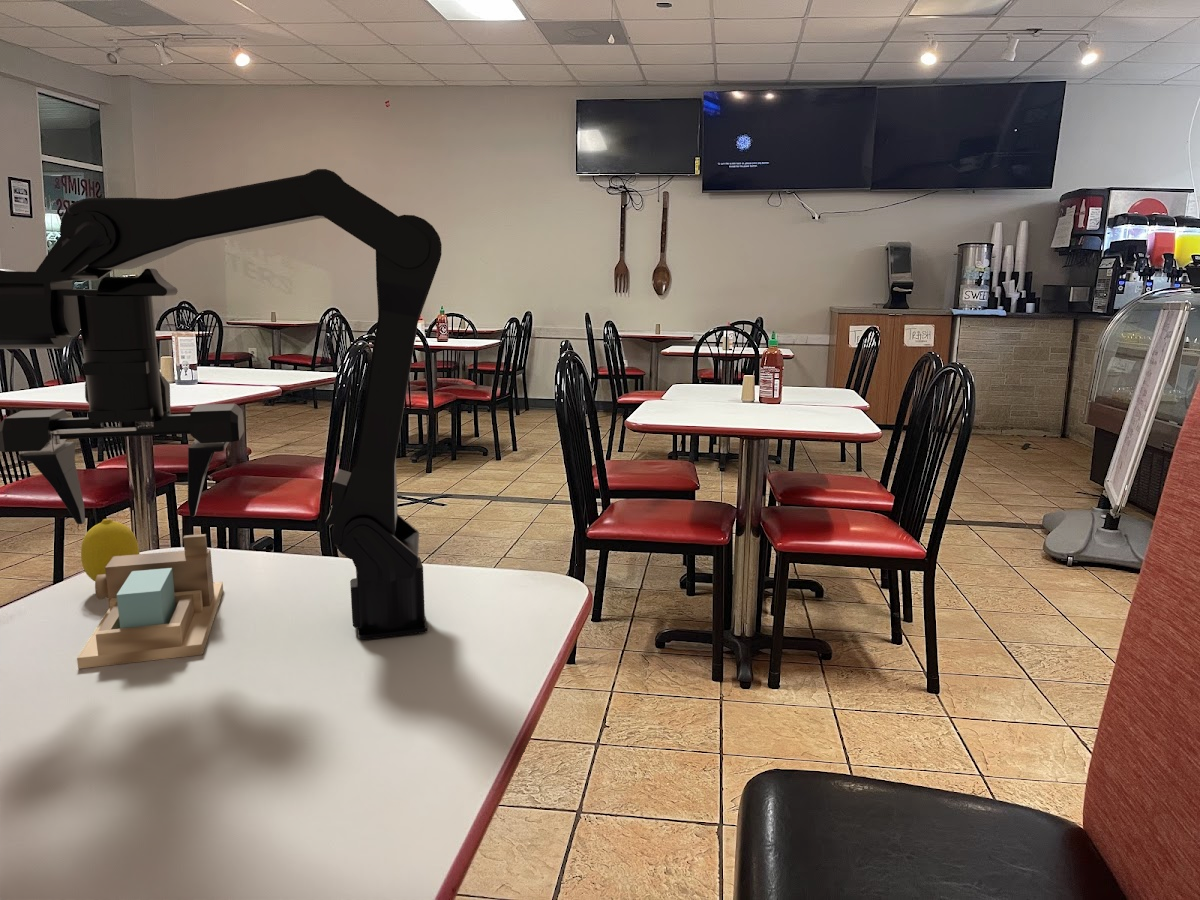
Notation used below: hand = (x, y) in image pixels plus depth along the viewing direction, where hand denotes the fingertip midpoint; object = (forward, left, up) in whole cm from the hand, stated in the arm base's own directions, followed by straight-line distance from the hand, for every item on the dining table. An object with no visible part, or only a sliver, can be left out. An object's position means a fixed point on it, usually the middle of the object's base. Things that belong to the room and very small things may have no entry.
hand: (138, 519), depth 78 cm
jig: (0, -4, -12) cm, 13 cm away
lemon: (+6, -16, -12) cm, 22 cm away
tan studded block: (0, -7, -11) cm, 13 cm away
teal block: (0, 0, -11) cm, 11 cm away
